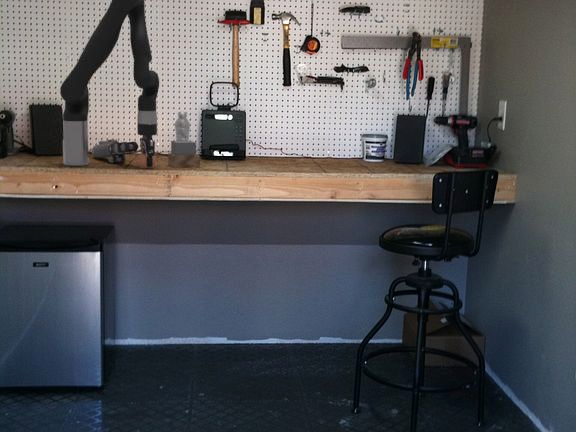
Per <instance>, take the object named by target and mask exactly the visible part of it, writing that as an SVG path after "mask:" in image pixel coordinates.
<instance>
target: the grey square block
mask: <svg viewBox="0 0 576 432" xmlns="http://www.w3.org/2000/svg"><path fill="white" fill-rule="evenodd" d="M170 144H171V145H170V146H171V147H170V153H171V154H174V155H176V156H184V155H196V154H197V142H195V141H193V140H189V141H176V140H171V141H170Z"/></svg>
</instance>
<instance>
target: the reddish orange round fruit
mask: <svg viewBox="0 0 576 432" xmlns="http://www.w3.org/2000/svg"><path fill="white" fill-rule="evenodd" d="M139 168H141V169H154V168H156V154H155V155H154V156H153V166H152V167H147V156H146V154H142V153H139Z"/></svg>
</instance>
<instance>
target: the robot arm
mask: <svg viewBox="0 0 576 432" xmlns="http://www.w3.org/2000/svg"><path fill="white" fill-rule="evenodd" d="M145 5H146V4H145V0H111V2H110V3H109V6H108V8H107V10H106V12H105V14H104V15H103V16H102V18H101V19H100V21H99V23H98V24H97V25H96V28H95V29H94V31H92V34H91V36H90V37H89V39H88V41H87V43H86V45H85V47H83V49H82V52H81V54H80V56H79V58H78V60H77V63H76V64H75V66H74V67H73V68H72V70H71V72H69V74H68V75H67V76H66V78H65V79H64V80H63V82H62V84H61V85H60V89H59V90H60V92H59V94H60V96H61V99H62V100H64V109H63V110H64V111H63V113H62V120H63V121H62V125H63V126H62V128H63V129H62V131H63V134H62V136H63V139H62V159H63V160H62V161H63V162H62V163H63V165H64V166H72V167H73V166H74V167H75V166H81V167H82V166H88V165H89V129H88V128H89V124H88V122H89V119H88V116H89V112H90V111H89V109H90V97H89V96H90V93H89V92H90V91H89V87H88V85H89V83H90V81H91V80H92V78H93V76H94V74H95V73H96V72H97V71H98V70H99V68H101V67H102V66H103V64H105V62H106V60H108V58H109V57H110V55H111V53H112V52H113V50H114V49H115V47H116V45H117V43H118V40H119V38H120V33H121V30H122V26H123V24H124V22H125V19H126V18H127V17H128V21H129V36H130V37H129V38H130V40H129V41H130V48H131V53H132V57H133V71H132V72H133V74H132V75H133V80H134V83H135V85H136V86H137V88H139V89H142V91H141V94H140V95H139V96H138V98H137V116H136V117H137V119H136V120H137V121H136V123H137V125H136V126H137V127H136V128H137V132H136V133H137V135H139V136H142V137H140V138H139V140H140V141H139V144H140V146H139V147H140V154H146V156H147V167H152V166H153V156H154V155H155V156H156V153H155V151H156V146H155V145H156V142H155V141H156V140H154V139H153V136H156V135H158V114H157V97H158V93H159V90H160V89H159V88H160V77H159V74H158V73H157V72H156V71H155V70H152V69H150V63H151V62H152V61H153V56H152V51H151V50H152V49H151V44H150V40H149V35H148V29H147V24H146V23H147V21H146V10H145V9H146V8H145Z"/></svg>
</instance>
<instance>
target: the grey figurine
mask: <svg viewBox="0 0 576 432" xmlns="http://www.w3.org/2000/svg"><path fill="white" fill-rule="evenodd" d="M177 117H178V118H177V119H176V121H175V122H174V128H175V141H190V139H189V137H190V129H191V123H190V122H189V120H188V118H187V117H188V112H187V111H178V112H177Z"/></svg>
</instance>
